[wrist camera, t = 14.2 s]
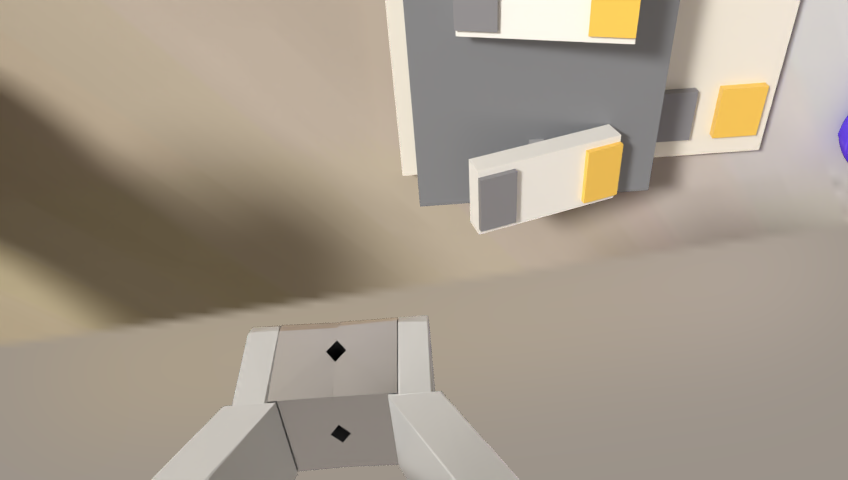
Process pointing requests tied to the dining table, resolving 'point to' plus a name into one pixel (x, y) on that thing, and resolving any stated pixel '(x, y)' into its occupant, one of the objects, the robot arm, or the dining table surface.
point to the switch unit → (584, 87)
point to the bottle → (844, 138)
